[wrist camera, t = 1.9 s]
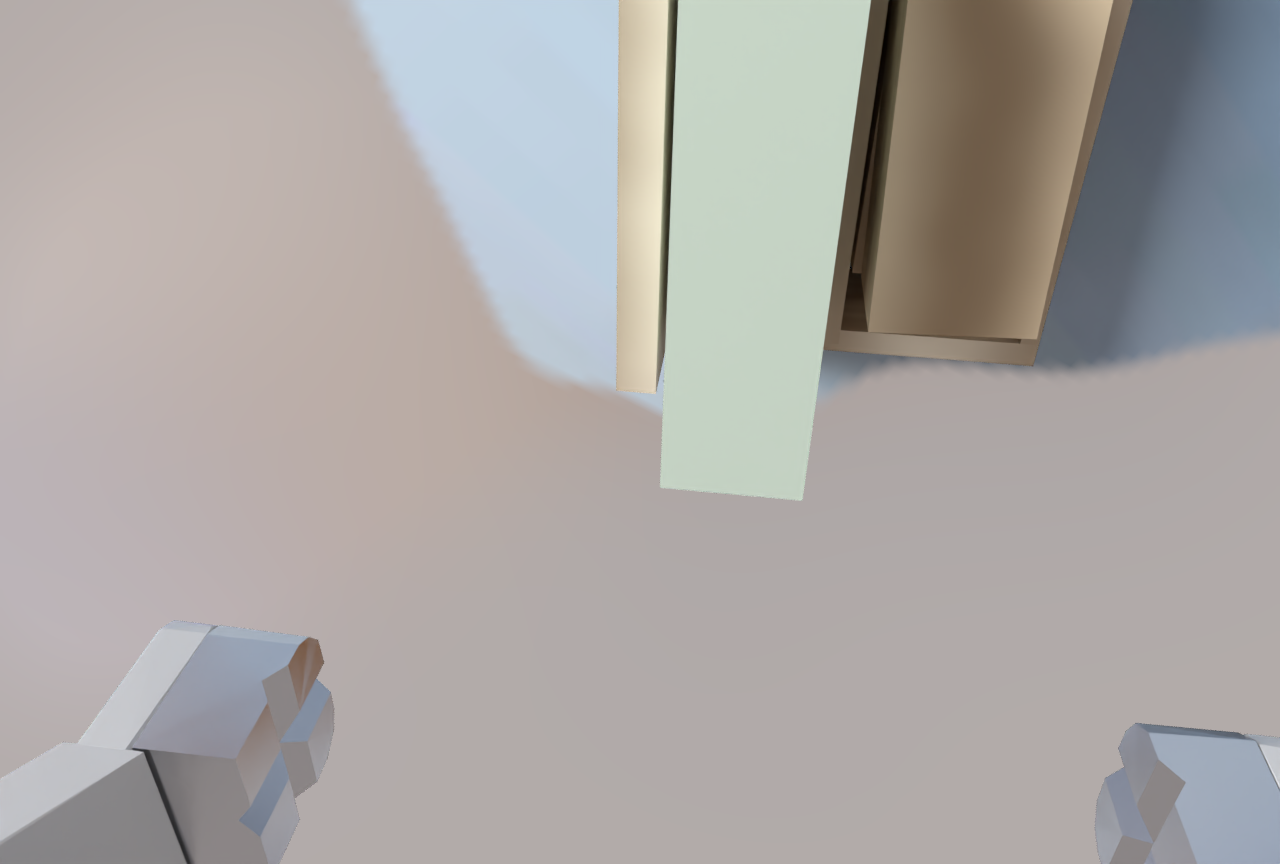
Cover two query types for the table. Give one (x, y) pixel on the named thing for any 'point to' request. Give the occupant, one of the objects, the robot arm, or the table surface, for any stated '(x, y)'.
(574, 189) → the table surface
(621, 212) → the box
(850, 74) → the sheet
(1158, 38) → the table surface
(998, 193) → the upper offcut
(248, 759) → the robot arm
